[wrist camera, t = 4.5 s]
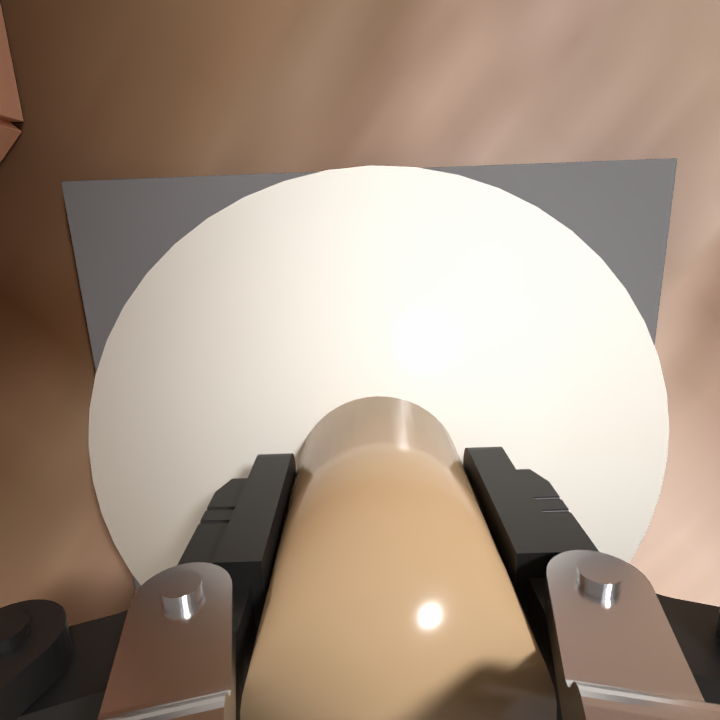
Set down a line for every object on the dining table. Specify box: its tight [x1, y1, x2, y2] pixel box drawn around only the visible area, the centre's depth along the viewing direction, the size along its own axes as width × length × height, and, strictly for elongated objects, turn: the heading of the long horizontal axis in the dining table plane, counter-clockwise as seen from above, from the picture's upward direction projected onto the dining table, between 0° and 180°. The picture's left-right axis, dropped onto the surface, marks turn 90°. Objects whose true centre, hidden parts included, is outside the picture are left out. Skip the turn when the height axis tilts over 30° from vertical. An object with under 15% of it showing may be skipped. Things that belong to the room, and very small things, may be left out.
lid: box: [89, 166, 669, 720], centre depth 9 cm, size 13×13×7 cm
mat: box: [61, 158, 677, 591], centre depth 13 cm, size 13×13×1 cm
